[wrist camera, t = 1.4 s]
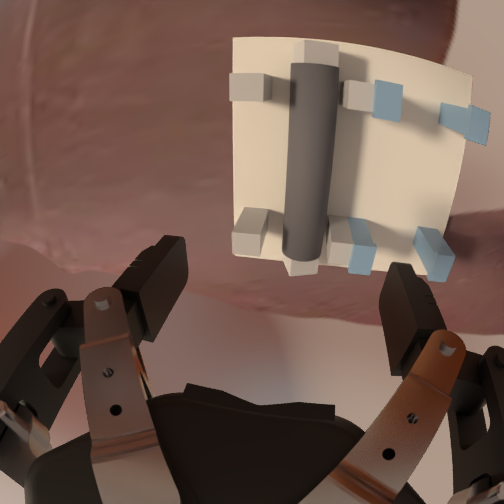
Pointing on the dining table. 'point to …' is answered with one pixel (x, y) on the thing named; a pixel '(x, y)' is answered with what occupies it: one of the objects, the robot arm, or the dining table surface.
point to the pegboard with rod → (356, 155)
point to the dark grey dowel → (309, 152)
